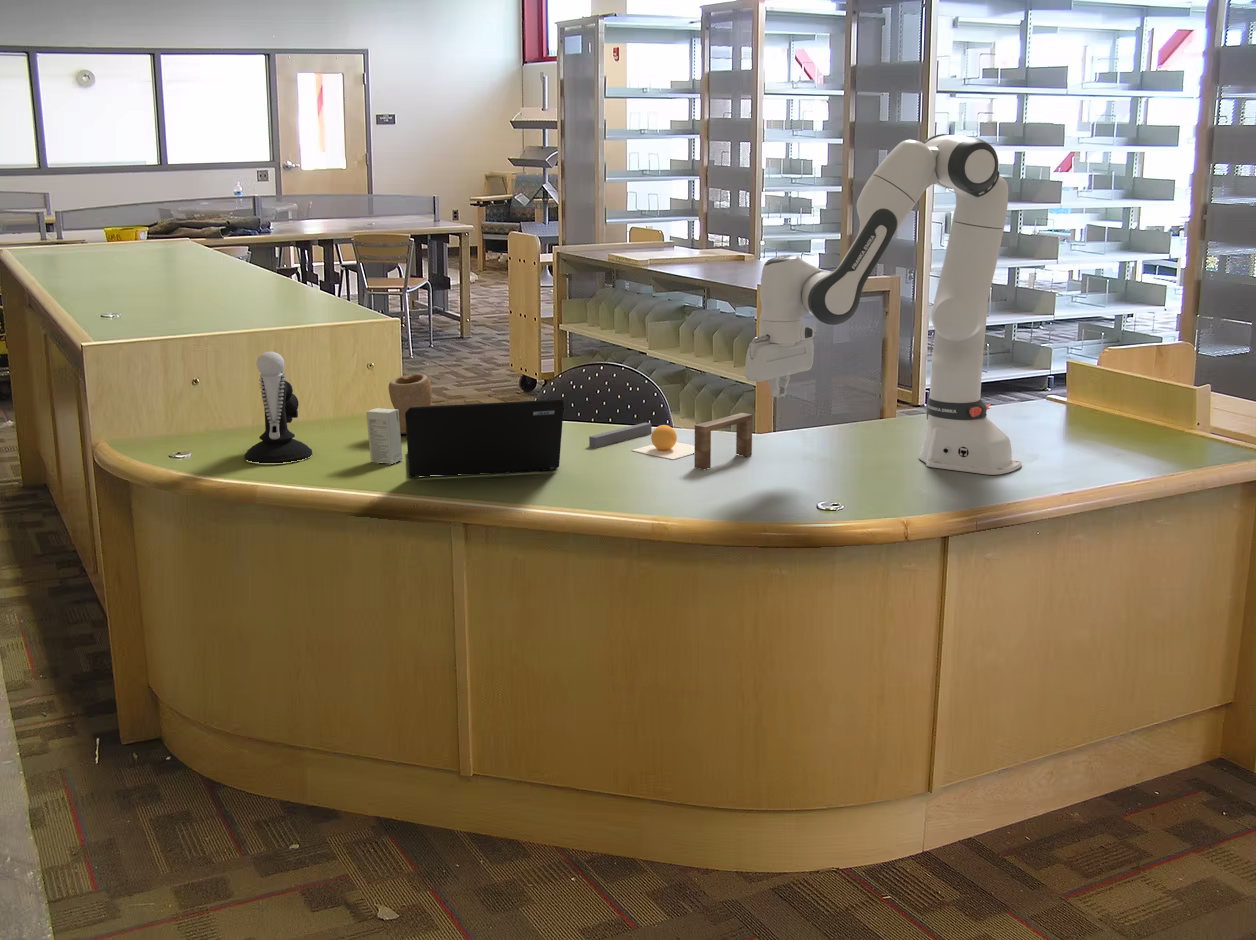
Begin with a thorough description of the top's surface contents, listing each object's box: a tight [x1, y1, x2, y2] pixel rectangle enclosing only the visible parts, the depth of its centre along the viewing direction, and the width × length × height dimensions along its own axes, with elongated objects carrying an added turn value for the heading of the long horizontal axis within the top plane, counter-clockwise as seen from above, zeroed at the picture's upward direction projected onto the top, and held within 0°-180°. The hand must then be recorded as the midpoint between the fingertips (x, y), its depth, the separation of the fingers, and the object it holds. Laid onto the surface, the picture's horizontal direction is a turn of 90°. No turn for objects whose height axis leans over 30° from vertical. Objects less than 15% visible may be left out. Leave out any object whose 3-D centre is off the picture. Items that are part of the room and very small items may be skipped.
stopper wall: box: [588, 421, 653, 449], centre depth 308 cm, size 2×20×2 cm, turn 137°
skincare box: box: [365, 407, 403, 465], centre depth 288 cm, size 6×4×12 cm
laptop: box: [405, 398, 565, 478], centre depth 280 cm, size 33×38×19 cm
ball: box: [650, 424, 678, 450], centre depth 297 cm, size 6×6×6 cm
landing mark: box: [631, 441, 695, 461], centre depth 298 cm, size 13×13×1 cm
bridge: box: [694, 412, 753, 470], centre depth 286 cm, size 3×17×10 cm, turn 137°
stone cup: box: [388, 373, 433, 435], centre depth 315 cm, size 15×12×15 cm
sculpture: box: [244, 351, 313, 463], centre depth 295 cm, size 15×24×25 cm, turn 6°
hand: (778, 396), depth 273 cm, fingers closed
